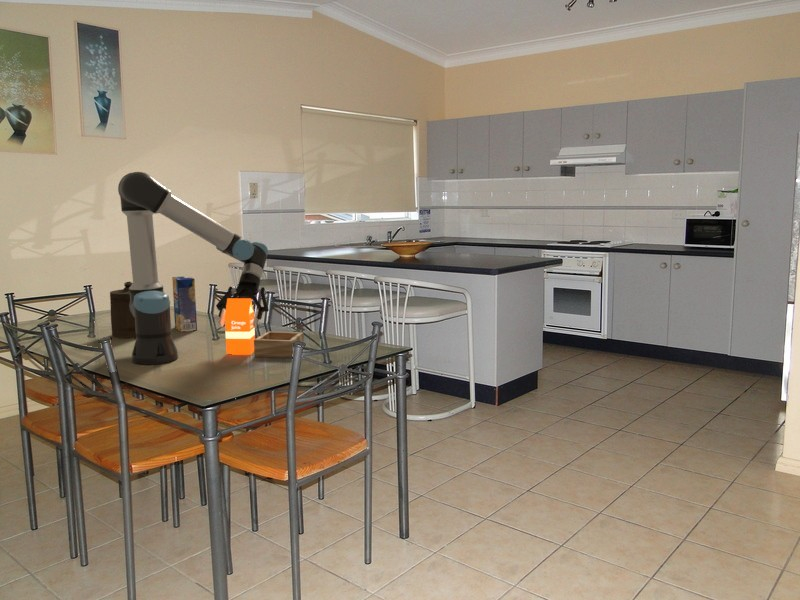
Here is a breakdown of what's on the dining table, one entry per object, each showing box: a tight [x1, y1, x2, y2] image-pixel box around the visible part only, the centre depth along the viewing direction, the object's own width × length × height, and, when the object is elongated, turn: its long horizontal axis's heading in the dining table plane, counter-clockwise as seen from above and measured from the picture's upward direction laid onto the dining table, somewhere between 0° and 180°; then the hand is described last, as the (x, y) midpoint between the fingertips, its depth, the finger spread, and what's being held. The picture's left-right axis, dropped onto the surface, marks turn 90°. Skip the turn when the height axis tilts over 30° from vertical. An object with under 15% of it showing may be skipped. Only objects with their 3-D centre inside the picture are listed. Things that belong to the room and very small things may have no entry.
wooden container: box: [109, 281, 136, 339], centre depth 275 cm, size 15×15×22 cm
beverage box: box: [171, 275, 198, 333], centre depth 287 cm, size 7×11×22 cm, turn 30°
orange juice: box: [224, 298, 256, 356], centre depth 244 cm, size 8×9×20 cm
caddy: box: [253, 330, 305, 359], centre depth 246 cm, size 15×14×6 cm
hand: (237, 325), depth 242 cm, fingers open, 12 cm apart
